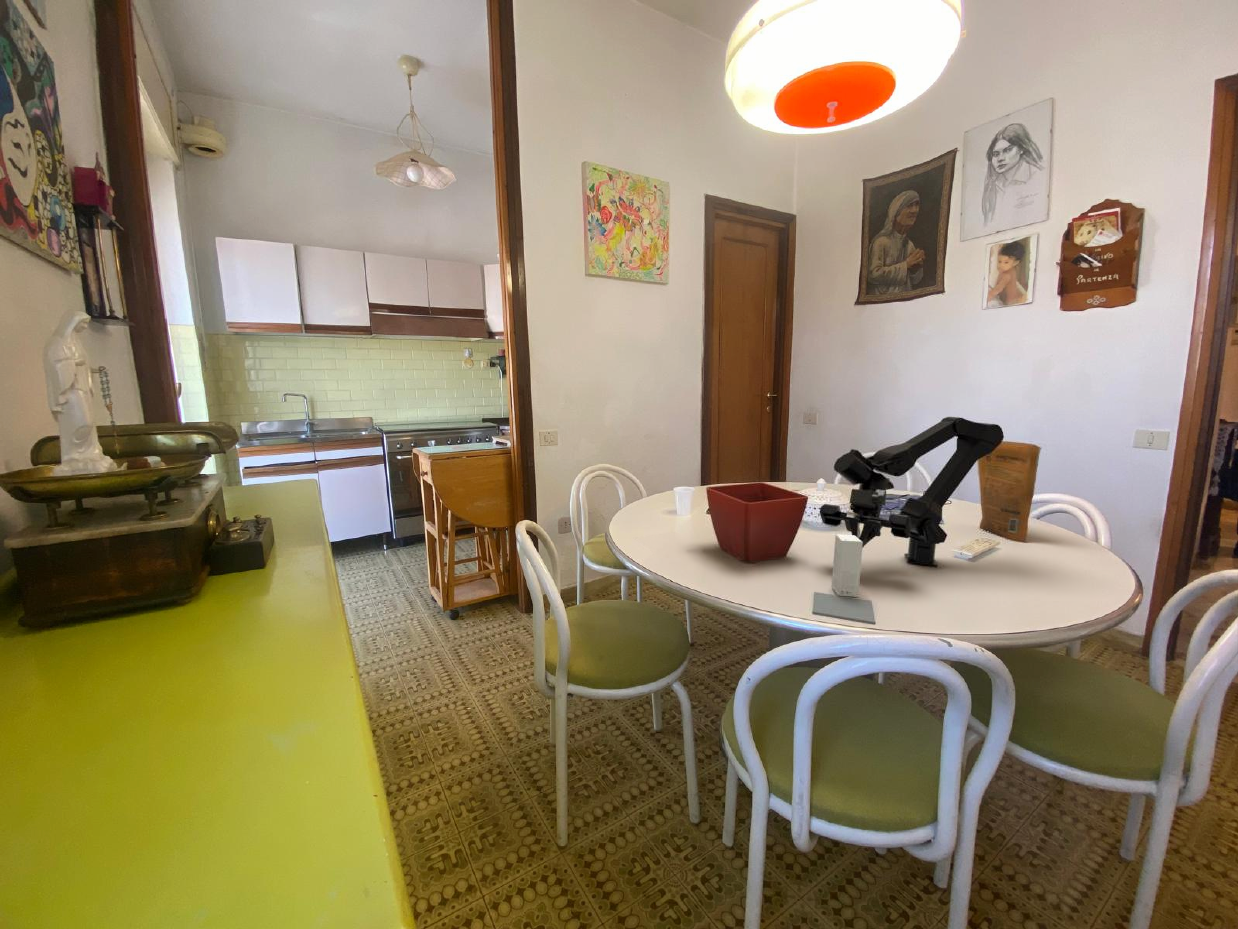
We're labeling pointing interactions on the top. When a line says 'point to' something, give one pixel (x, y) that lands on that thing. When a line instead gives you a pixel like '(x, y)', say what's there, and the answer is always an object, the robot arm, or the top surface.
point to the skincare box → (847, 565)
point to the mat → (843, 607)
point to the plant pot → (755, 519)
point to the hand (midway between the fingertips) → (855, 551)
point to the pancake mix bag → (1008, 488)
